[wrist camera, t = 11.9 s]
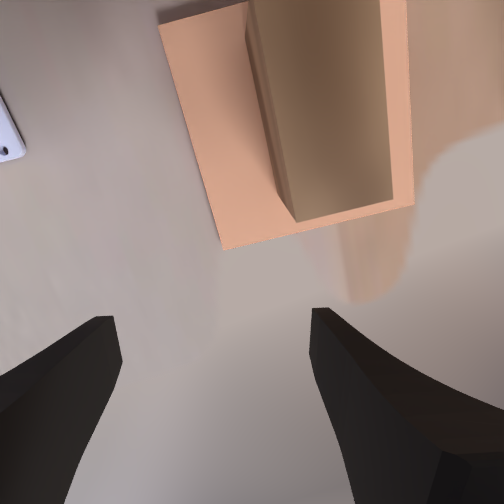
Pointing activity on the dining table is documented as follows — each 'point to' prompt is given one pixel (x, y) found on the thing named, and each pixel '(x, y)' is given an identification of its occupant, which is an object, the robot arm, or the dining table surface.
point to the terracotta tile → (251, 126)
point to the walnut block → (322, 102)
